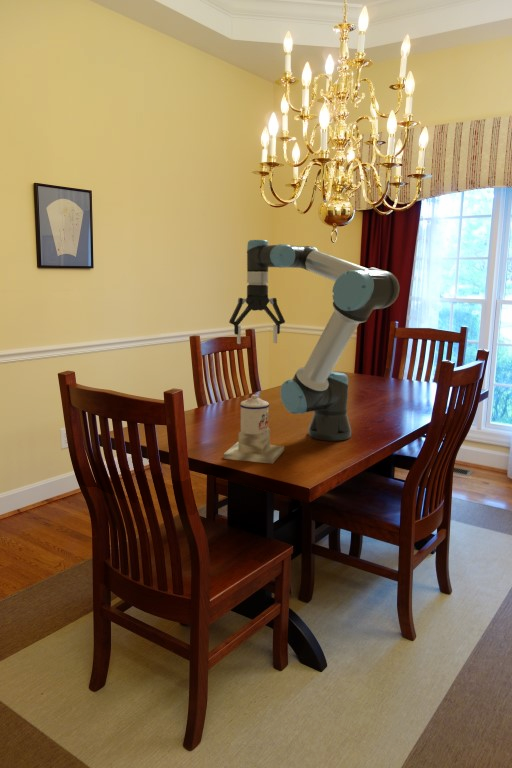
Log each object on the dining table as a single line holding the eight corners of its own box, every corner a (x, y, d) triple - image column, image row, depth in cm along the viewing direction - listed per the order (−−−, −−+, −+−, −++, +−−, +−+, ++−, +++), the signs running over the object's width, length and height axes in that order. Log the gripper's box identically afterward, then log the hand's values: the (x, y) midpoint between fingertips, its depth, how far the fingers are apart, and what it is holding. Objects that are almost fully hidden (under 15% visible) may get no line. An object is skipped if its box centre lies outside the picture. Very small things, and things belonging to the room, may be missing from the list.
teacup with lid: (263, 436, 177) (264, 398, 175) (235, 433, 180) (235, 396, 178) (275, 426, 188) (275, 391, 186) (248, 424, 191) (248, 389, 189)
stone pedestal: (284, 450, 190) (284, 426, 189) (272, 463, 177) (273, 438, 175) (237, 446, 195) (237, 422, 193) (223, 458, 181) (223, 433, 180)
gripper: (288, 284, 215) (287, 341, 219) (221, 283, 209) (221, 342, 213) (293, 284, 208) (292, 343, 212) (225, 284, 202) (225, 345, 206)
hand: (257, 343), depth 213 cm, fingers open, 13 cm apart
